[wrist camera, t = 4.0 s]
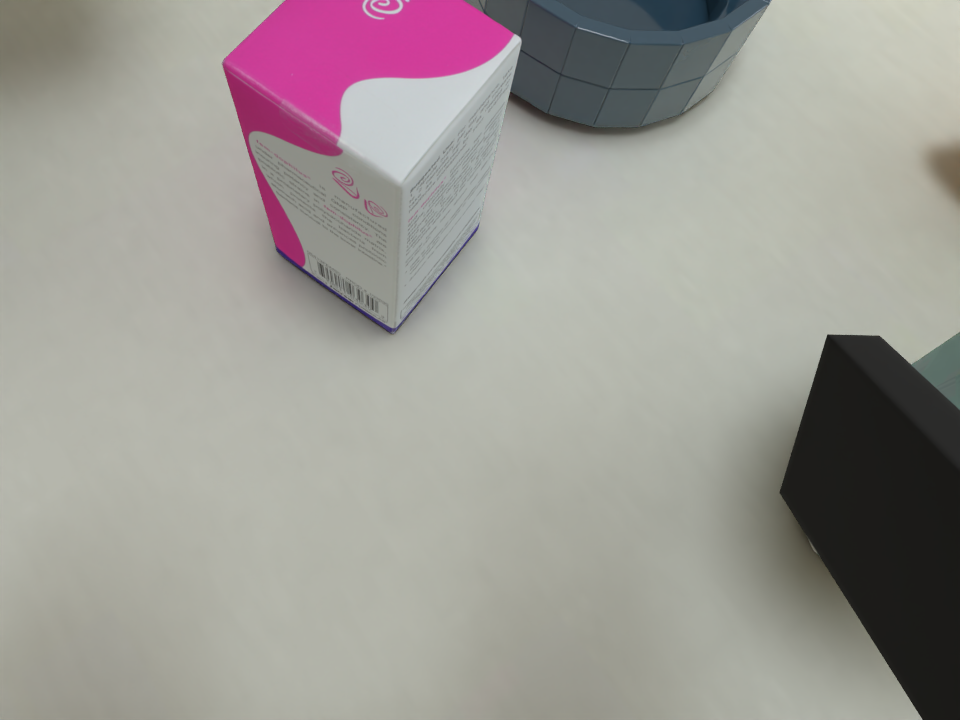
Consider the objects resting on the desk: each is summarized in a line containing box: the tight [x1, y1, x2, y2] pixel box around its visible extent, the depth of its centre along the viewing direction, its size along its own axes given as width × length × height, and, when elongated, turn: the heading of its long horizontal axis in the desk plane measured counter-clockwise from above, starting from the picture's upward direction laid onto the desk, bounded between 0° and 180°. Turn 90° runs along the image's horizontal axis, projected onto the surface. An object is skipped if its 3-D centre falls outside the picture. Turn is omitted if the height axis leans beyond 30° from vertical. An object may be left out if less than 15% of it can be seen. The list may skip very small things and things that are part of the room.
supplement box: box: [222, 0, 522, 334], centre depth 27 cm, size 6×6×12 cm
